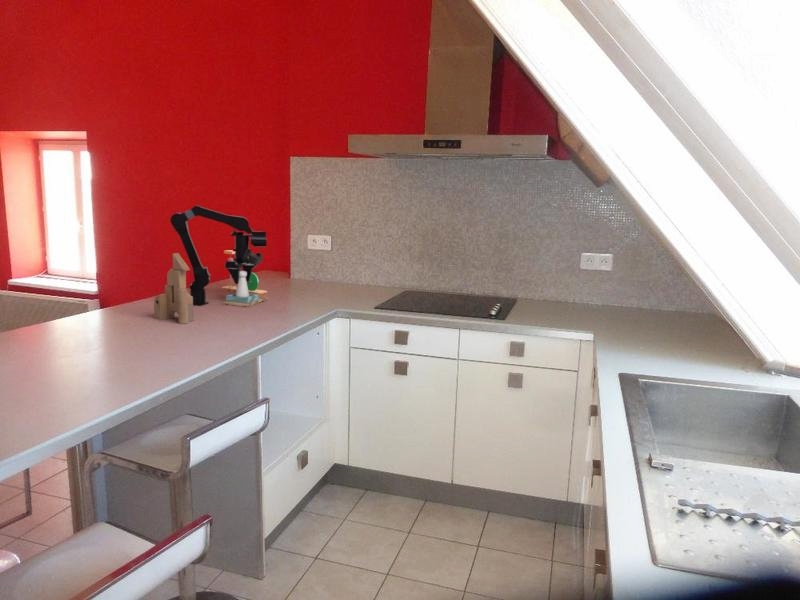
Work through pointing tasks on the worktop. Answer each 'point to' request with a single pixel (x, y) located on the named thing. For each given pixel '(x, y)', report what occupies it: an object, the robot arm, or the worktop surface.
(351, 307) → the worktop surface
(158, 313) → the wooden toy
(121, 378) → the worktop surface
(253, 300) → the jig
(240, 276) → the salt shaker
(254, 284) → the crank mechanism
